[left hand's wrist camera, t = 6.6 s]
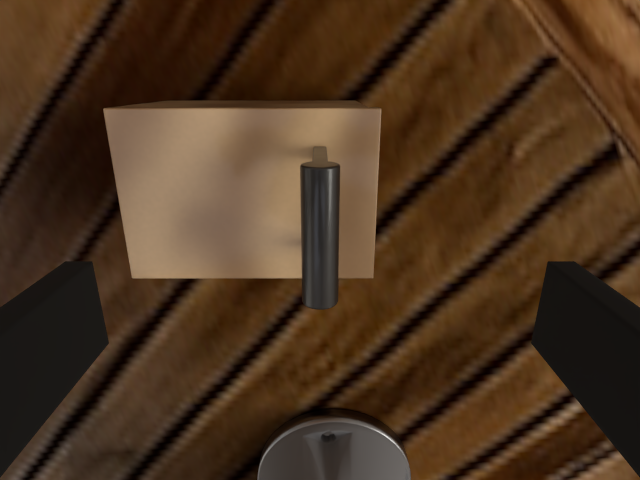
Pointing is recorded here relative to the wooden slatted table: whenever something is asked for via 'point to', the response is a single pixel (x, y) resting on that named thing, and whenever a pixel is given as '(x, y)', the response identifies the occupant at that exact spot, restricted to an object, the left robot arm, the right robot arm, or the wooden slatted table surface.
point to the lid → (248, 192)
